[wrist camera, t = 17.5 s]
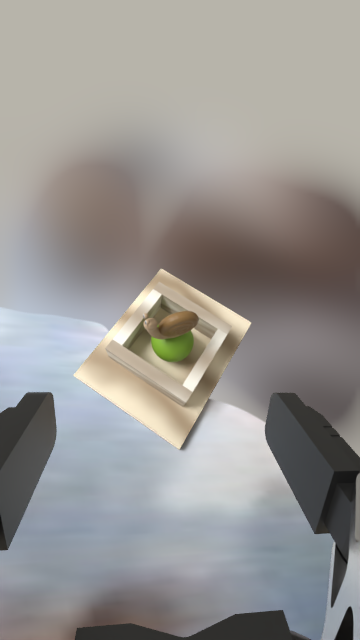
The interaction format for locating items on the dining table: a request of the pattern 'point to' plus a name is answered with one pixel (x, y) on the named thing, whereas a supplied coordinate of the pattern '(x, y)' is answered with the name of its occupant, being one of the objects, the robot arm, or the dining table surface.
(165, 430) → the wooden box tray
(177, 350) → the snail figurine
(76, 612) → the dining table surface
